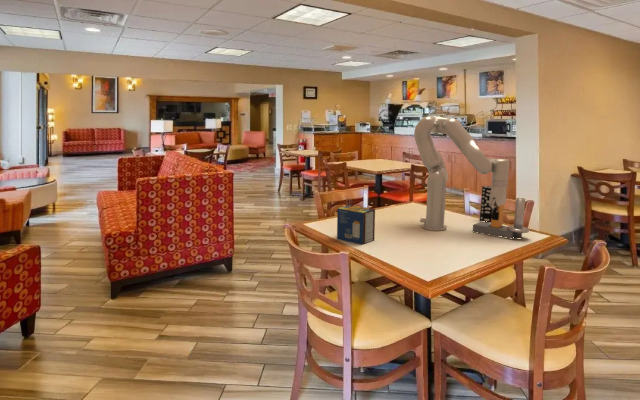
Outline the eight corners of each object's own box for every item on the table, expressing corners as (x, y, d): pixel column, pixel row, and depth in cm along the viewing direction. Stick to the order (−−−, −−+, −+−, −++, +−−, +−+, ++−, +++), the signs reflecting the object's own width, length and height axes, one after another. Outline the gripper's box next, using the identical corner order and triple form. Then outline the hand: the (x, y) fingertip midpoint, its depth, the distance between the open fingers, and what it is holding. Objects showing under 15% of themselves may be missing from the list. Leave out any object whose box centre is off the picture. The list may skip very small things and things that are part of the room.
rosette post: (502, 238, 210) (506, 198, 206) (510, 234, 217) (514, 196, 213) (523, 242, 203) (527, 201, 199) (531, 238, 210) (535, 198, 206)
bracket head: (472, 231, 221) (473, 224, 221) (480, 229, 228) (480, 221, 227) (511, 239, 207) (512, 231, 207) (518, 236, 214) (519, 228, 213)
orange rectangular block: (491, 226, 217) (492, 203, 215) (494, 225, 219) (496, 202, 217) (498, 228, 214) (500, 204, 212) (502, 226, 217) (503, 203, 214)
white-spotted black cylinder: (488, 219, 252) (490, 185, 248) (498, 222, 244) (500, 187, 240) (476, 220, 249) (479, 186, 246) (486, 223, 241) (489, 188, 238)
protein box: (348, 234, 214) (349, 204, 211) (374, 240, 204) (375, 208, 201) (336, 239, 206) (336, 207, 203) (362, 245, 196) (363, 212, 193)
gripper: (499, 181, 221) (496, 215, 224) (484, 184, 210) (482, 220, 213) (513, 182, 216) (511, 217, 219) (499, 185, 204) (497, 222, 208)
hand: (497, 218), depth 216 cm, fingers closed on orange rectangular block, 4 cm apart
